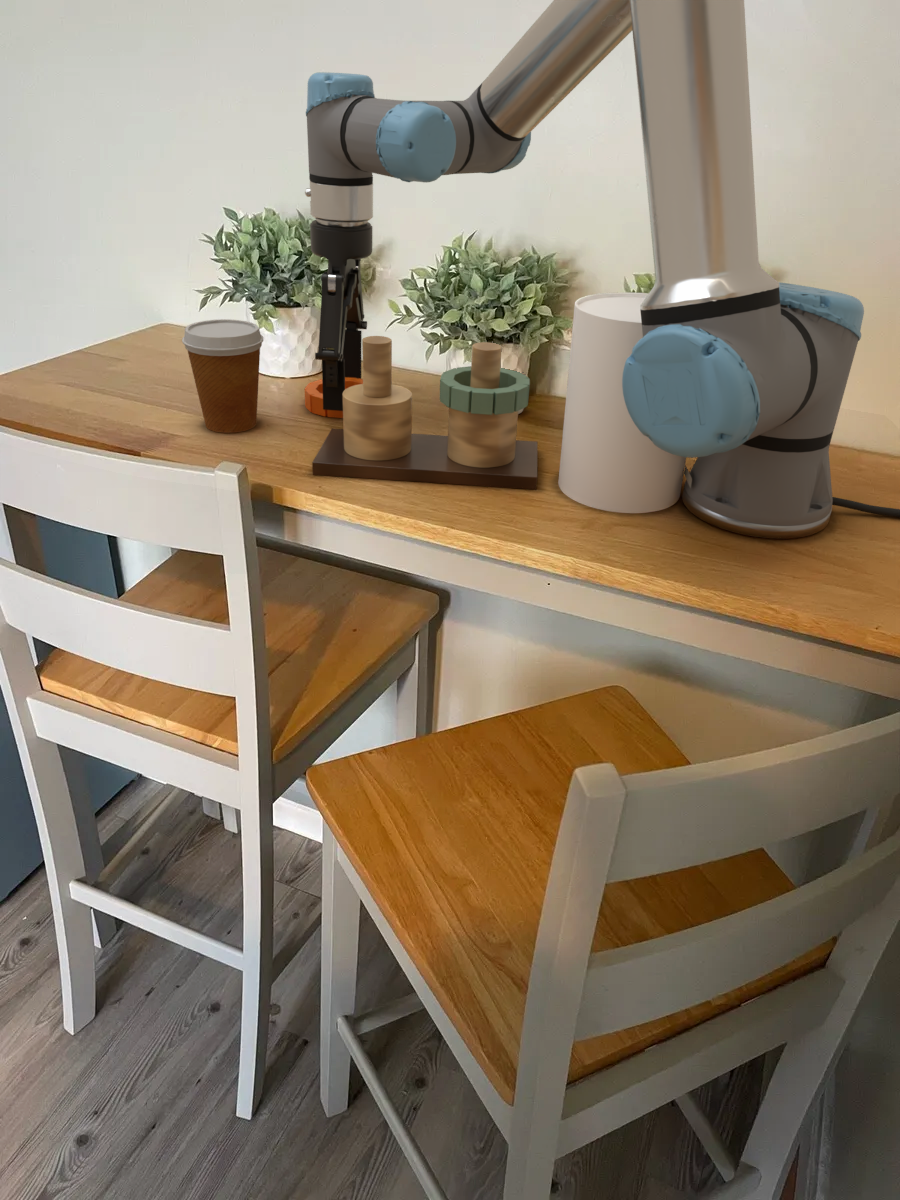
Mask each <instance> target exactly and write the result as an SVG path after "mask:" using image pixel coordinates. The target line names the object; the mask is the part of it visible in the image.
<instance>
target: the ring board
mask: <svg viewBox="0 0 900 1200" xmlns="http://www.w3.org/2000/svg"><path fill="white" fill-rule="evenodd" d="M392 342H393V341H392V338H390V337H388V336H383V335H369V336H365V337H363V338H361V355H362V379H363V384H359V385H354V386H351V387H349V388H347V389H345V390H344V391H343V418H342V422H343V424H342V425H343V428H331V429H330V431H329V432H328V435H327V436H326V438H325V439H324V442H323V443H322V445H321V446H320V448H319V450H318V451H317V453H316V455H315V457H314V459H313V461H312V463H311V466H312V475H315V476H327V477H328V476H329V477H342V478H343V477H344V478H357V479H358V478H359V479H373V480H387V481H403V482H416V483H417V482H418V483H432V484H446V485H447V484H448V485H462V486H477V487H492V488H504V489H505V488H506V489H519V490H520V489H523V490H535V491H536V490H537V484H538V441H536V440H535V441H534V440H519V439H517V434H518V433H517V432H518V419H519V414H518V411H517V412H515V411H514V413H506V414H498V415H495V414H493V413H492V415H485V414H471V412H469V413H466V412H462V411H458V410H454V409H451V408H448V415H447V416H448V417H447V419H448V420H447V435H439V434H428V433H427V434H425V433H424V434H423V433H412V431H413V392H412V391H411V390H410V389H408V388H406V387H405V386H402V385H398V384H393V377H392V376H393V343H392ZM501 352H502V346H501V345H499V344H496V343H493V342H489V341H488V342H487V341H483V342H482V341H480V342H475V343H473V344H472V345H471V362H470V363H471V364H470V366H471V383H470V387H473V388H483V389H497V388H499V383H500V368H501Z"/></svg>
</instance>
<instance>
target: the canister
mask: <svg viewBox="0 0 900 1200" xmlns="http://www.w3.org/2000/svg"><path fill="white" fill-rule="evenodd" d="M649 293H650V292H626V291H623V292H622V291H620V292H618V291H617V292H600V293H594V294H593V293H592V294H589V295H585V296H582V297H579V298H577V299H576V300H574V301H575V302H574V307H573V319H572V328H571V338H570V340H571V341H570V351H569V352H570V353H569V361H568V371H567V372H568V374H567V383H566V385H567V386H566V395H565V404H564V416H563V427H562V436H561V438H562V439H561V448H560V449H561V450H560V459H559V470H558V482H557V485H558V488H559V489H560V491H561V492H562V493H563V494H564V495H565V496H566V497H568V498H569V499H571V500H572V501H575V502H576V503H579V504H580V505H583V506H586V507H590V508H593V509H597V510H601V511H606V512H612V513H621V514H645V513H647V514H648V513H654V512H658V511H663V510H665V509H668V508H670V507H672V506H674V505H675V504H676V503H677V502H678V501H679V500H680V498H681V492H682V486H683V480H684V476H685V475H684V471H685V465H686V464H687V463H686V462H687V457H681V456H677V455H673V454H671V453H668V452H666V451H664V450H662V449H660V448H658V447H657V446H655V445H654V444H653V442H652V441H651V440H650V439H649V438H648V437H647V436H644V435H643V434H642V433H641V432H640V430H639V429H638V428H637V426H636V425H635V424H634V422H633V420H632V418H631V417H630V414H629V412H628V410H627V407H626V404H625V400H624V396H623V388H622V377H623V370H624V366H625V362H626V359H627V358H628V357H630V355H631V354H632V349H633V347H634V346H635V345H636V343H637V342H638V341H639V340H640V339H642V338H643V332H642V322H641V311H640V305H641V304H642V302H643V301H644V299H645V298H646V297H647V295H648V294H649Z"/></svg>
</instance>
